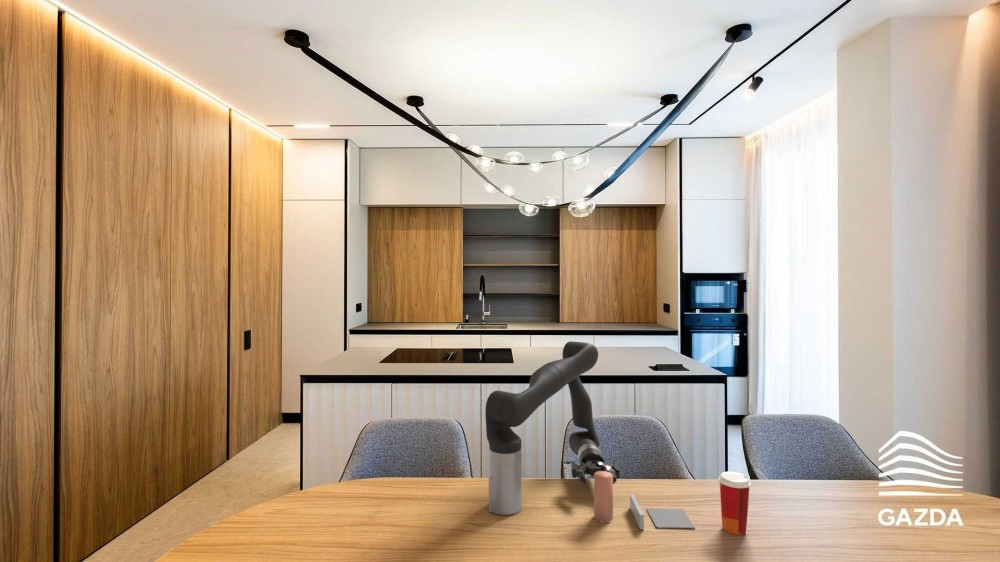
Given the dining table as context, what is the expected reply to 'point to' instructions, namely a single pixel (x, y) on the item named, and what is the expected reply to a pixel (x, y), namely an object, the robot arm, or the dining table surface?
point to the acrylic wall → (637, 511)
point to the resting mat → (670, 518)
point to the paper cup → (734, 502)
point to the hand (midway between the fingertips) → (598, 480)
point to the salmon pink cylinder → (603, 496)
